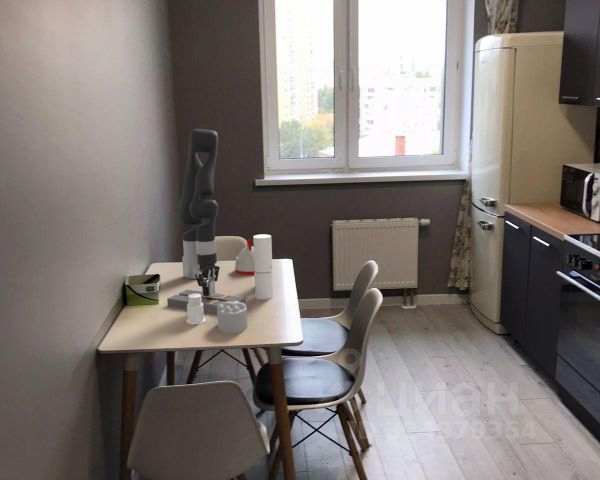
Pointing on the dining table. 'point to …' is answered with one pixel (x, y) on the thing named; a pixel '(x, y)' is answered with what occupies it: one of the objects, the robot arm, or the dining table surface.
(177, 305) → the fader console
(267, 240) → the cylindrical container
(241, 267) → the kitchen timer
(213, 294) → the fader knob
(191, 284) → the dining table surface
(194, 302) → the downlight
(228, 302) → the lumpy-topped squat cylinder
